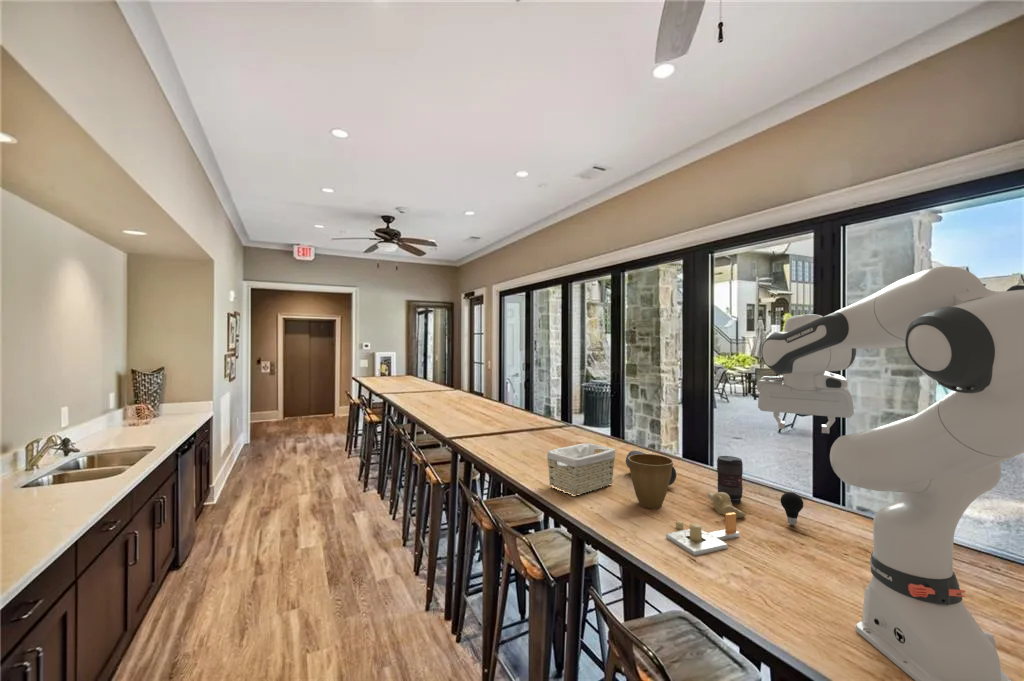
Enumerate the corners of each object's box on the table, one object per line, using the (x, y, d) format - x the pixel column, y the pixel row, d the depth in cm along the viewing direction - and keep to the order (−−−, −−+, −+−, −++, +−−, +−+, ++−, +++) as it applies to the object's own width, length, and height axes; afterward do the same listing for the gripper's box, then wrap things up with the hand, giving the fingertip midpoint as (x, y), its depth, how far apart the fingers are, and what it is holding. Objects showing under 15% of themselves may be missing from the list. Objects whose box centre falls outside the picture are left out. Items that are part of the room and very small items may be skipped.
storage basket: (587, 475, 182) (586, 441, 182) (618, 485, 169) (617, 448, 169) (545, 488, 167) (544, 450, 167) (575, 500, 155) (574, 459, 155)
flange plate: (694, 556, 111) (694, 532, 111) (666, 537, 121) (665, 515, 121) (751, 542, 117) (751, 520, 117) (719, 526, 128) (719, 505, 128)
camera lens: (748, 502, 149) (747, 459, 149) (731, 506, 146) (730, 462, 146) (729, 494, 157) (728, 454, 157) (712, 498, 154) (711, 456, 154)
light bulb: (807, 530, 127) (806, 496, 127) (785, 528, 129) (785, 495, 128) (798, 522, 133) (797, 489, 133) (777, 520, 134) (777, 488, 134)
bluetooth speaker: (624, 473, 184) (624, 450, 184) (643, 470, 187) (642, 448, 187) (657, 490, 163) (656, 464, 163) (677, 487, 166) (677, 462, 165)
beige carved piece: (727, 506, 131) (707, 483, 143) (717, 525, 133) (699, 500, 145) (750, 511, 132) (729, 488, 144) (741, 530, 134) (720, 505, 146)
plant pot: (665, 517, 139) (665, 467, 139) (622, 506, 148) (621, 460, 148) (679, 502, 150) (678, 457, 150) (638, 494, 159) (637, 451, 159)
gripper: (756, 378, 112) (756, 429, 113) (855, 382, 101) (854, 439, 103) (757, 373, 117) (757, 422, 119) (851, 377, 106) (850, 431, 108)
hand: (803, 430), depth 111 cm, fingers open, 8 cm apart
